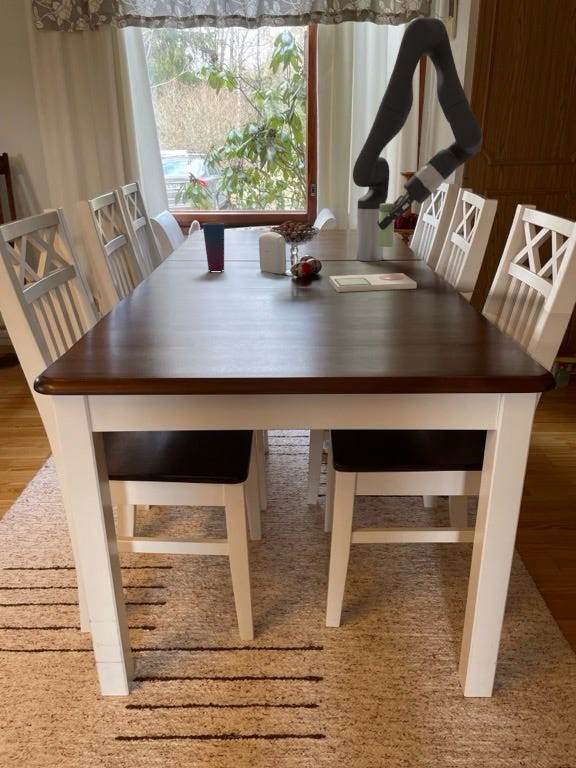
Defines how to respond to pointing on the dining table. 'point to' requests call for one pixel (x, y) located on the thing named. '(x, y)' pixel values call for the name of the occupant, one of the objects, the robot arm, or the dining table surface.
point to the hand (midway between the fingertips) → (379, 226)
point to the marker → (387, 234)
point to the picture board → (372, 282)
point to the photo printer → (272, 252)
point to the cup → (214, 245)
